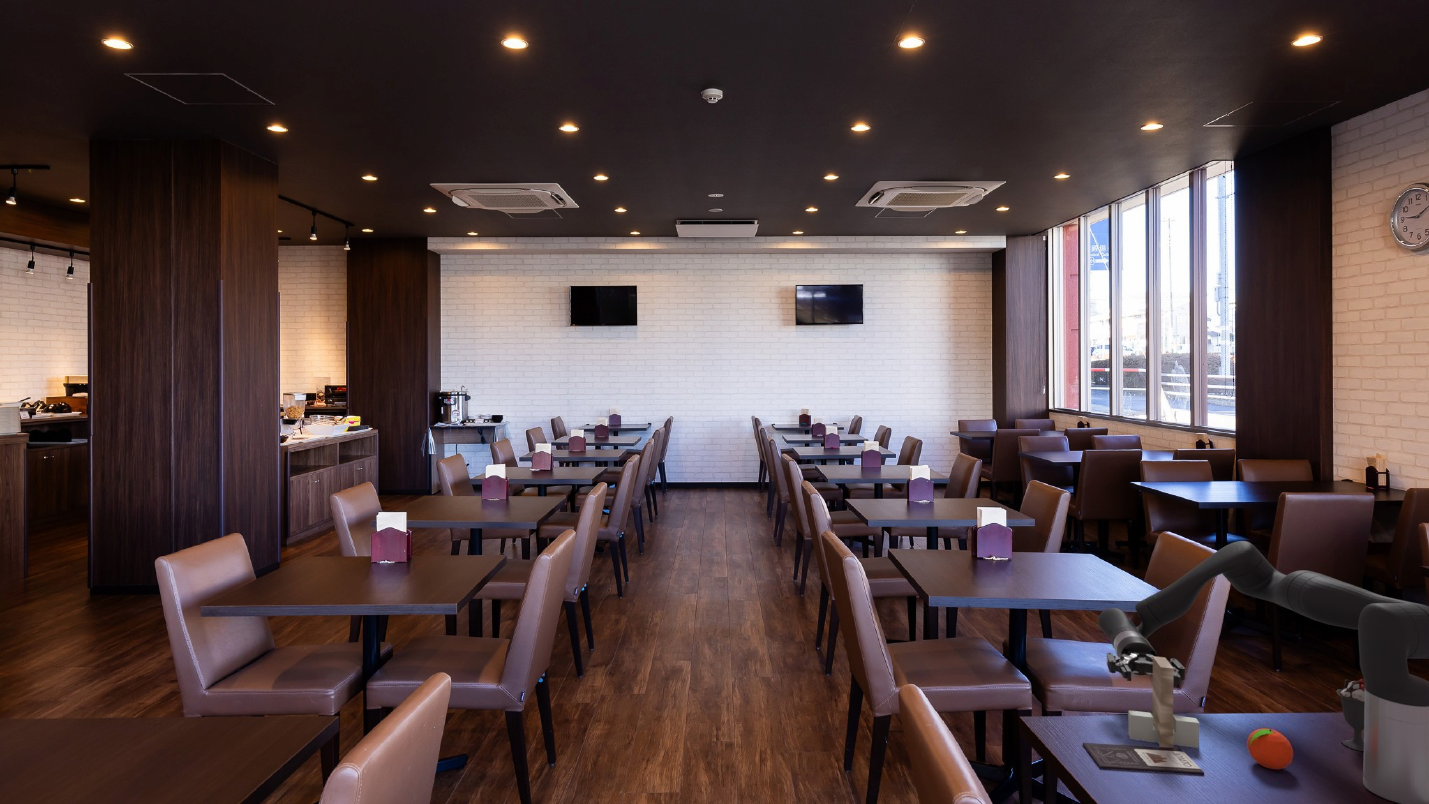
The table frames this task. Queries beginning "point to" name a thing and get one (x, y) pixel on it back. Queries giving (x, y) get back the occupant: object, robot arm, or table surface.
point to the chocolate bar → (1142, 758)
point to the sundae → (1354, 710)
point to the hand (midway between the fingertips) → (1152, 678)
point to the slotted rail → (1146, 731)
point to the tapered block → (1163, 701)
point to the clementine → (1270, 748)
